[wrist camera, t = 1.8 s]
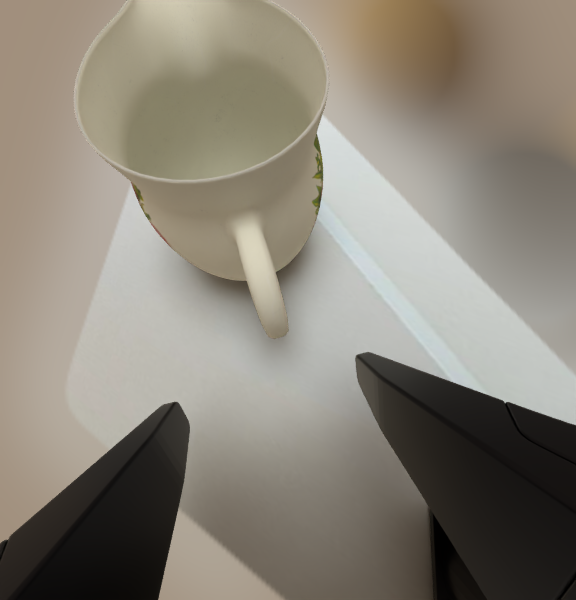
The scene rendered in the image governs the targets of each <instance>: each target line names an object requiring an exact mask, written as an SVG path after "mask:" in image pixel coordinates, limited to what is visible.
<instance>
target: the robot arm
mask: <svg viewBox="0 0 576 600" xmlns="http://www.w3.org/2000/svg"><path fill="white" fill-rule="evenodd" d="M355 361H356V372H357V379H358V382H359V385H360V387H361V389H362V392H363V394H364V396H365V398H366V400H367V402H368V404H369V406H370V408H371V410H372V413H373V415H374V417H375V419H376V421H377V423H378V425H379V427H380V429H381V431H382V432H383V434H384V436H385V437H386V439H387V440H388V442H389V444H390V445H391V447H392V448H393V450H394V452H395V453H396V455H397V456H398V458H399V460H400V461H401V463H402V464H403V466H404V468H405V469H406V471H407V472H408V474H409V475H410V477H411V479H412V480H413V482H414V483H415V485H416V487H417V488H418V490H419V491H420V493H421V495H422V496H423V498H424V499H425V501H426V503H427V504H428V506H429V507H430V528H431V549H432V570H433V591H434V600H576V425H573V424H570V423H567V422H564V421H561V420H558V419H555V418H552V417H549V416H547V415H544V414H541V413H538V412H535V411H532V410H529V409H526V408H524V407H521V406H518V405H515V404H513V403H510V402H506V403H504V401H503V400H500V399H497V398H494V397H492V396H489V395H486V394H483V393H481V392H478V391H475V390H472V389H470V388H467V387H464V386H461V385H459V384H456V383H453V382H450V381H448V380H445V379H442V378H439V377H437V376H434V375H431V374H428V373H426V372H423V371H420V370H417V369H415V368H412V367H409V366H406V365H404V364H401V363H398V362H395V361H393V360H390V359H387V358H384V357H382V356H379V355H376V354H373V353H370V352H366V353H362V354H358V355H356V358H355ZM189 433H190V425H189V421H188V419H187V417H186V415H185V413H184V411H183V410H182V408H181V406H180V404H179V403H178V402H172V403H168V404H164V405H162V406H161V407H159V408H158V409H157V410H156V411H155V412H154V413H152V414H151V415H150V416H149V417H148V418H147V419H145V420H144V421H143V422H142V423H141V424H140V425H138V426H137V427H136V428H135V429H134V430H133V431H131V432H130V433H129V434H128V435H127V436H126V437H124V438H123V439H122V440H121V441H120V442H119V443H118V444H116V445H115V446H114V447H113V448H112V449H111V450H109V451H108V452H107V453H106V454H105V455H104V456H102V457H101V458H100V459H99V460H98V461H97V462H96V463H94V464H93V465H92V466H91V467H90V468H88V469H87V470H86V471H85V472H84V473H83V474H81V475H80V476H79V477H78V478H77V479H76V480H74V481H73V482H72V483H71V484H70V485H69V486H68V487H66V488H65V489H64V490H63V491H62V492H61V493H59V494H58V495H57V496H56V497H55V498H54V499H52V500H51V501H50V502H49V503H48V504H47V505H46V506H44V507H43V508H42V509H41V510H40V511H39V512H37V513H36V514H35V515H34V516H33V517H31V519H29V520H28V521H27V522H26V523H25V524H23V525H22V526H21V527H20V528H19V529H18V530H16V531H15V532H14V533H13V534H12V535H11V536H10V537H9V539H8V540H4V541H3V542H1V543H0V600H158V598H159V593H160V589H161V584H162V579H163V575H164V571H165V566H166V561H167V557H168V553H169V548H170V544H171V539H172V534H173V530H174V525H175V521H176V516H177V512H178V507H179V503H180V498H181V494H182V489H183V484H184V478H185V470H186V461H187V452H188V442H189Z"/></svg>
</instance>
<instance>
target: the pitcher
mask: <svg viewBox="0 0 576 600" xmlns="http://www.w3.org/2000/svg"><path fill="white" fill-rule="evenodd" d="M328 87H329V69H328V65H327V60H326V57H325V55H324V52H323V50H322V48H321V46H320V44H319V43H318V41H317V39H316V38H315V37H314V35H313V34H312V33H311V31H310V30H309V29H308V28H307V27H306V26H305V25H304V24H303V23H302V22H301V21H300V20H299V19H298V18H297V17H295V16H294V15H293V14H292V13H290V12H289V11H288V10H286V9H285V8H283V7H282V6H280V5H278V4H277V3H275V2H273V1H271V0H126V2H125V4H124V5H123V7H122V8H121V9H120V11H119V12H118V13H117V14H116V15H115V16H114V17H113V19H112V20H111V21H110V22H109V23H108V24H107V25H106V26H105V27H104V28H103V30H102V31H101V32H100V33H99V34H98V36H97V37H96V38H95V40H94V41H93V42H92V44H91V45H90V47H89V49H88V50H87V52H86V54H85V56H84V58H83V60H82V63H81V65H80V67H79V70H78V74H77V77H76V81H75V87H74V111H75V116H76V120H77V123H78V125H79V128H80V130H81V132H82V134H83V136H84V137H85V139H86V140H87V142H88V143H89V144H90V145H91V147H92V148H93V149H94V150H95V151H96V152H97V153H98V154H99V155H100V156H101V157H102V158H103V159H104V160H105V161H106V162H107V163H109V164H110V165H111V166H113V167H114V168H115V169H116V170H118V171H119V172H120V173H122V174H123V175H124V176H125V177H126V178H127V179H129V180H130V181H131V183H132V187H133V189H134V192H135V194H136V197H137V199H138V201H139V204H140V206H141V208H142V210H143V212H144V214H145V215H146V217H147V218H148V220H149V222H150V223H151V225H152V226H153V227H154V229H155V230H156V231H157V233H158V234H159V235H160V236H161V237H162V238H163V239H164V241H165V242H166V243H167V244H168V245H169V246H170V247H171V248H172V249H173V250H174V251H176V252H177V253H178V254H179V255H180V256H182V257H183V258H184V259H185V260H187V261H188V262H190V263H191V264H193V265H194V266H196V267H198V268H199V269H201V270H203V271H205V272H208V273H210V274H212V275H215V276H218V277H222V278H225V279H230V280H236V281H247V283H248V287H249V290H250V293H251V296H252V299H253V302H254V305H255V308H256V310H257V313H258V316H259V318H260V321H261V323H262V326H263V328H264V330H265V331H266V333H267V335H268V337H270V338H273V339H276V338H280V337H282V336H285V335H286V334H287V332H288V331H289V329H288V319H287V314H286V309H285V305H284V301H283V297H282V293H281V289H280V286H279V282H278V278H277V275H276V272H277V271H279V270H281V269H282V268H284V267H285V266H286V265H287V264H288V263H290V262H291V261H292V260H293V259H294V257H295V256H296V255H297V254H298V253H299V252H300V250H301V249H302V247H303V246H304V244H305V243H306V241H307V240H308V238H309V236H310V234H311V231H312V229H313V227H314V224H315V221H316V218H317V215H318V211H319V208H320V202H321V196H322V189H323V163H322V156H321V150H320V145H319V141H318V137H317V129H318V126H319V123H320V120H321V117H322V114H323V111H324V108H325V104H326V100H327V94H328Z"/></svg>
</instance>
